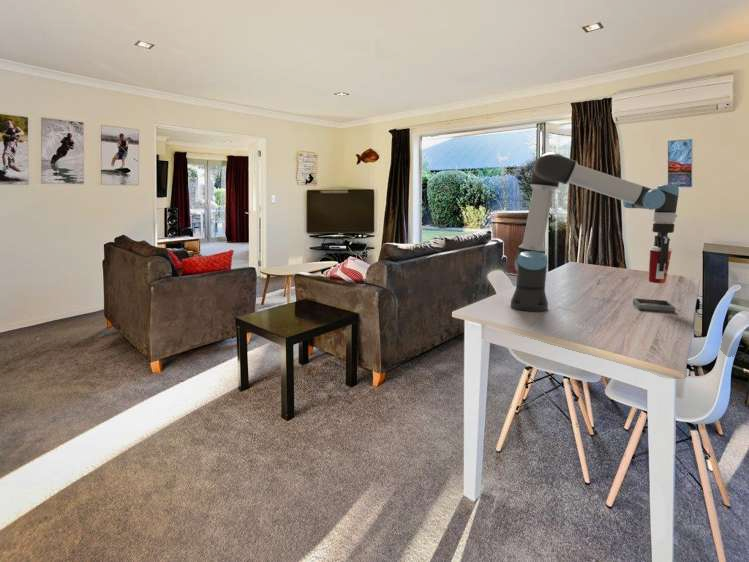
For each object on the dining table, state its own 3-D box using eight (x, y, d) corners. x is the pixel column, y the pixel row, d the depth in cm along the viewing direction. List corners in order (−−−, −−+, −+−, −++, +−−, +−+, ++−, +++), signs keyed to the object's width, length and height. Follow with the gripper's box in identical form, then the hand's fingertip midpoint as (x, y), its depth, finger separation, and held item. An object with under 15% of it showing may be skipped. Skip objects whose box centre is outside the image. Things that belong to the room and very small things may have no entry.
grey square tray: (638, 310, 186) (639, 304, 186) (632, 303, 198) (633, 298, 198) (674, 312, 182) (675, 307, 182) (666, 305, 194) (667, 300, 194)
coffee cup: (671, 284, 183) (676, 248, 180) (650, 283, 185) (654, 247, 182) (663, 280, 191) (667, 245, 188) (642, 279, 193) (646, 245, 190)
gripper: (681, 224, 173) (674, 282, 177) (668, 221, 191) (661, 273, 196) (659, 224, 175) (652, 280, 180) (648, 221, 194) (642, 272, 198)
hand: (657, 277), depth 188 cm, fingers closed on coffee cup, 7 cm apart
